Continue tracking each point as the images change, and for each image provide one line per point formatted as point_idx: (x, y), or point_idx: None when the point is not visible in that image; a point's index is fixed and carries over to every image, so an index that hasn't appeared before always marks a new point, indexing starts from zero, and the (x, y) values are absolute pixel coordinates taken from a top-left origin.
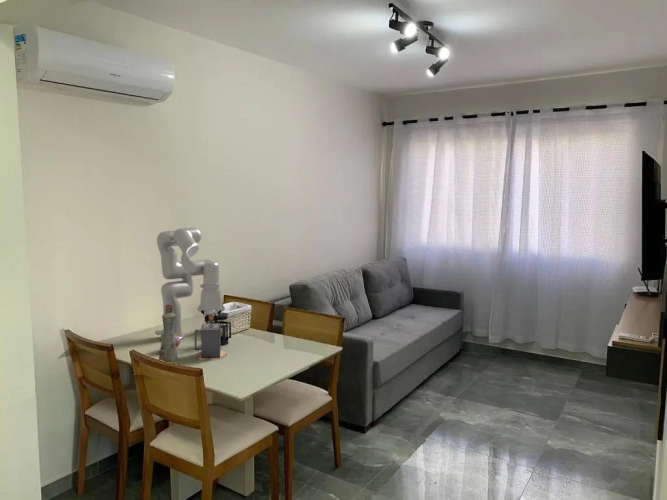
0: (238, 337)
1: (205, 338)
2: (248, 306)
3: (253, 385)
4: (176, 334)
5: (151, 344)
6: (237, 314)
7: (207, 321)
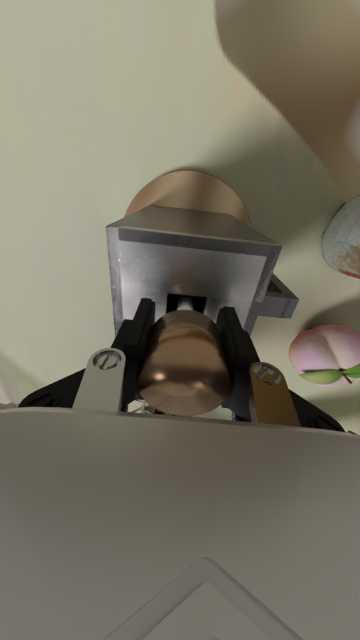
0: None
1: (226, 226)
2: None
3: None
4: (321, 372)
5: (340, 388)
6: None
7: (223, 318)
